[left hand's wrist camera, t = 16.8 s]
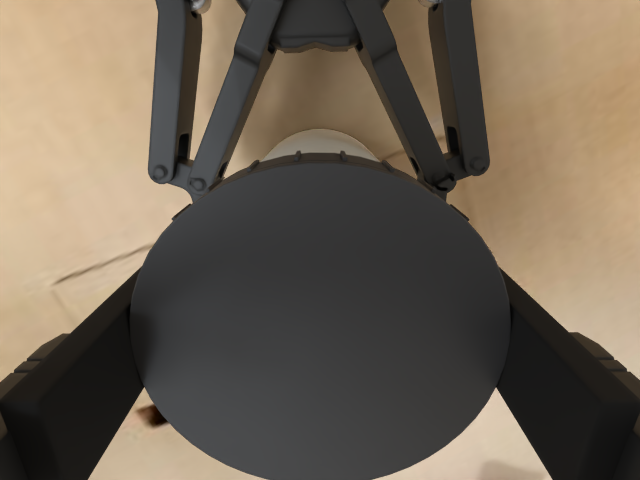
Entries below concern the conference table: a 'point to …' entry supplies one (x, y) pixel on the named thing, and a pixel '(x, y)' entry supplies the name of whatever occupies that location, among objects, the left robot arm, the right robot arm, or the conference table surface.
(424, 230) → the lid
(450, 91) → the right robot arm
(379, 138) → the conference table surface
